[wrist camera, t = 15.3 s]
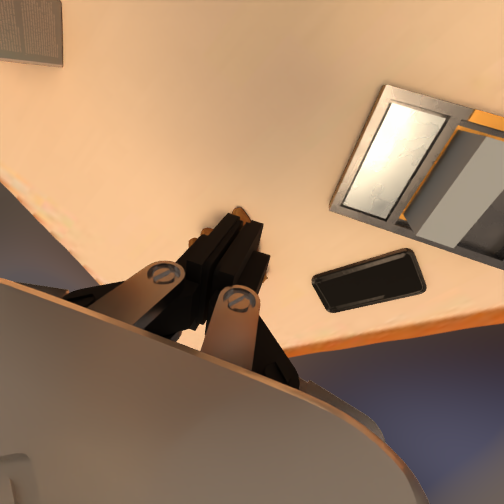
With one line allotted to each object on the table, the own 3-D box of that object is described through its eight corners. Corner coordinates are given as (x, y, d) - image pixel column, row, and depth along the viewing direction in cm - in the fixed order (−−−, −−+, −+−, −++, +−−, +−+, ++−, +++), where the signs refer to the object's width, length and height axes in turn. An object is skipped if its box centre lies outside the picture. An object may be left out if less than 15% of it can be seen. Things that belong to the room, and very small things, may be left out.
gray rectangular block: (458, 129, 26) (486, 136, 21) (497, 141, 26) (536, 151, 21) (402, 214, 32) (415, 235, 27) (434, 225, 31) (453, 248, 26)
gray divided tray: (382, 85, 27) (387, 84, 25) (603, 148, 25) (630, 153, 23) (329, 204, 35) (328, 211, 32) (493, 259, 33) (505, 271, 30)
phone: (309, 279, 41) (412, 248, 34) (309, 275, 42) (410, 244, 35) (328, 314, 44) (428, 293, 37) (328, 310, 44) (426, 288, 37)
